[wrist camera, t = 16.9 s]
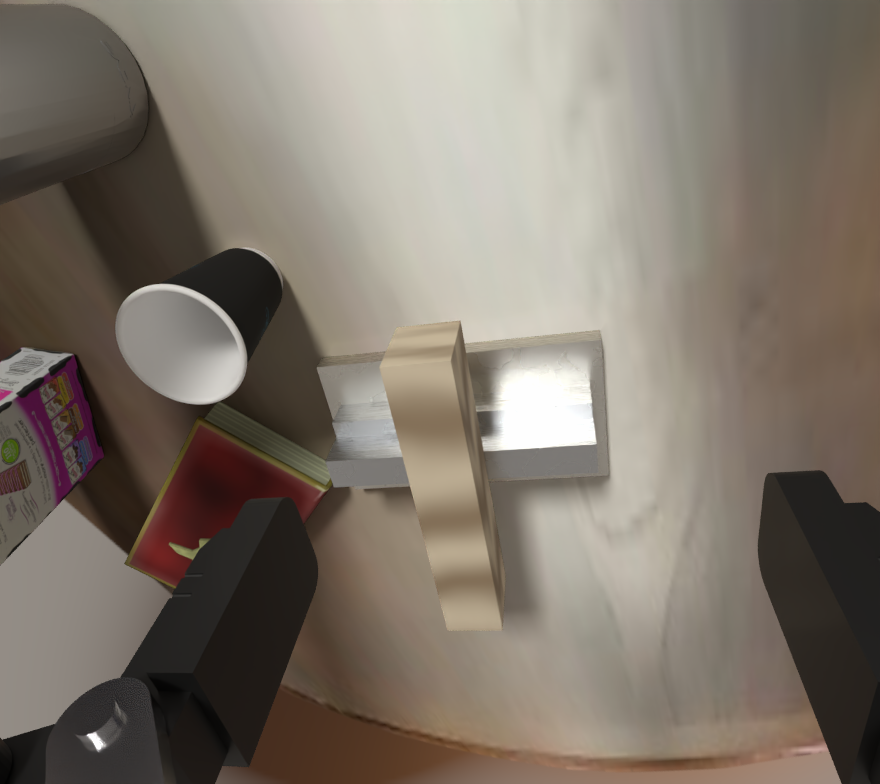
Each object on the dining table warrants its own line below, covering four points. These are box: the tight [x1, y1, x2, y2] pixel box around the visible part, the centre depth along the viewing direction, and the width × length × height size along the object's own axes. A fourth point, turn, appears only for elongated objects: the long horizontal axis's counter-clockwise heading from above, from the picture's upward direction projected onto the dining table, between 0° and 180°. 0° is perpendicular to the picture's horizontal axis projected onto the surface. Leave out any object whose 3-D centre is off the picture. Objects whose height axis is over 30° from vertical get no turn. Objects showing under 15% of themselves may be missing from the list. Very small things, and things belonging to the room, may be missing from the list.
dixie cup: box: [115, 247, 283, 405], centre depth 41 cm, size 8×8×11 cm
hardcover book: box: [125, 401, 333, 589], centre depth 57 cm, size 12×21×4 cm, turn 148°
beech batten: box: [379, 321, 506, 631], centre depth 42 cm, size 22×4×5 cm, turn 10°
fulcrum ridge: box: [316, 330, 609, 489], centre depth 47 cm, size 21×12×7 cm, turn 100°
